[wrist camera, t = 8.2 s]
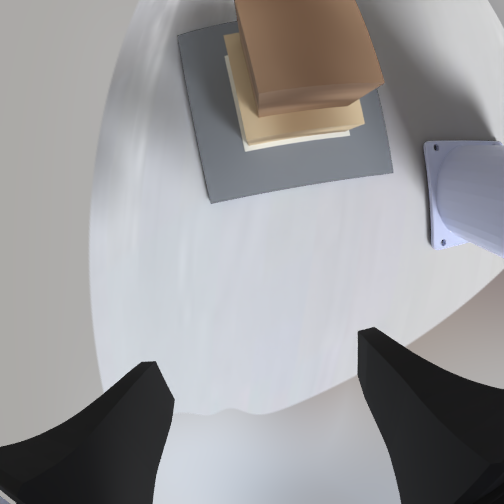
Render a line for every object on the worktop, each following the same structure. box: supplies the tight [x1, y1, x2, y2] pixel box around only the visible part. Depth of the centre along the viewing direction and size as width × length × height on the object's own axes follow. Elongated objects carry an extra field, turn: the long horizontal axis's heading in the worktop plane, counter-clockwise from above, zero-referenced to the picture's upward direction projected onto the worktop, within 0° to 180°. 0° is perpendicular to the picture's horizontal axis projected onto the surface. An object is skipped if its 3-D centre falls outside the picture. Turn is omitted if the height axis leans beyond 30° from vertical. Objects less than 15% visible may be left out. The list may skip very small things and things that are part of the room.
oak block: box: [223, 33, 365, 146], centre depth 13 cm, size 6×6×4 cm
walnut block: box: [234, 0, 385, 118], centre depth 9 cm, size 4×4×4 cm
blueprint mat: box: [178, 21, 393, 204], centre depth 15 cm, size 12×12×1 cm
